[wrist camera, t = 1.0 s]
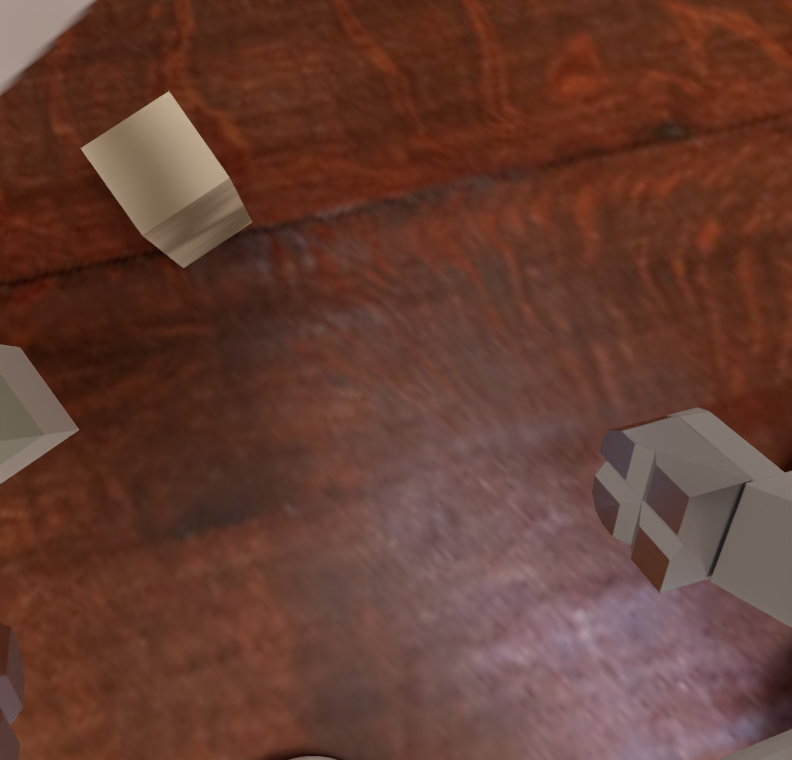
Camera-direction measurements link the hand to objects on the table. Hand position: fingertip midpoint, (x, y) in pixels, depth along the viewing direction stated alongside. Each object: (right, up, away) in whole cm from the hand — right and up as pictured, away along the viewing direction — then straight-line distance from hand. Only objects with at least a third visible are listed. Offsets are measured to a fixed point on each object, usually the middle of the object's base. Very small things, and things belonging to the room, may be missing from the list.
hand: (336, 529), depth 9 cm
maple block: (-11, +12, +33) cm, 37 cm away
